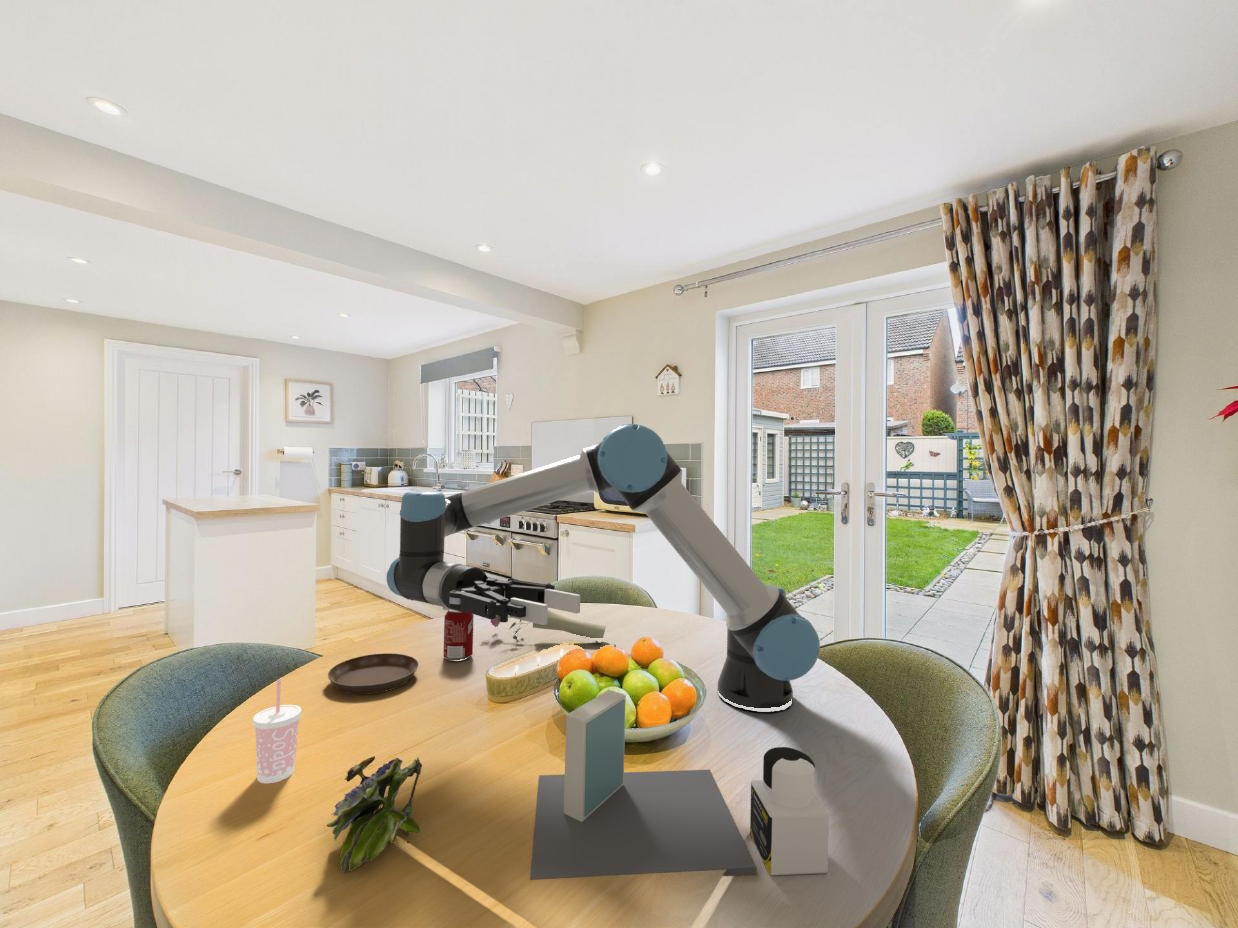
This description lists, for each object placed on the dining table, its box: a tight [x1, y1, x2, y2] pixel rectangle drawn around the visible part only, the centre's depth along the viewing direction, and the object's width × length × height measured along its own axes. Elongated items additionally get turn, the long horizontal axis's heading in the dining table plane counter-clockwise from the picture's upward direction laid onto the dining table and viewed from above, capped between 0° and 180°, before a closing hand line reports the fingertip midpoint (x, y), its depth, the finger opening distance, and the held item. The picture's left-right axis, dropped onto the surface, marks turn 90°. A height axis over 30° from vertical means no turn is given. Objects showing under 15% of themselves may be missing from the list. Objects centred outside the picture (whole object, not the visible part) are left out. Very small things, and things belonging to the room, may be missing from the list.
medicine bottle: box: [749, 746, 830, 876], centre depth 65 cm, size 7×7×12 cm
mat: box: [529, 769, 758, 881], centre depth 70 cm, size 26×20×1 cm
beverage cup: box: [252, 678, 303, 784], centre depth 79 cm, size 6×6×14 cm
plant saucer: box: [327, 652, 420, 695], centre depth 114 cm, size 18×18×3 cm
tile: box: [564, 689, 627, 822], centre depth 74 cm, size 3×10×13 cm, turn 147°
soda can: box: [443, 608, 475, 661], centre depth 128 cm, size 7×7×12 cm
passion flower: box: [326, 755, 423, 873], centre depth 66 cm, size 11×11×12 cm
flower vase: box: [490, 609, 607, 639], centre depth 143 cm, size 12×12×35 cm
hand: (562, 609), depth 77 cm, fingers open, 7 cm apart
